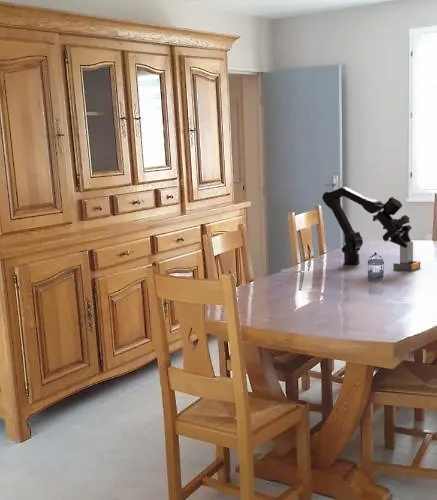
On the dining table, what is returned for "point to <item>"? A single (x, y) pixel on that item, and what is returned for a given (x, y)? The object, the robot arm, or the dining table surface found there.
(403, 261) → the grey upright block
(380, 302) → the dining table surface
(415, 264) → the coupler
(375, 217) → the robot arm
